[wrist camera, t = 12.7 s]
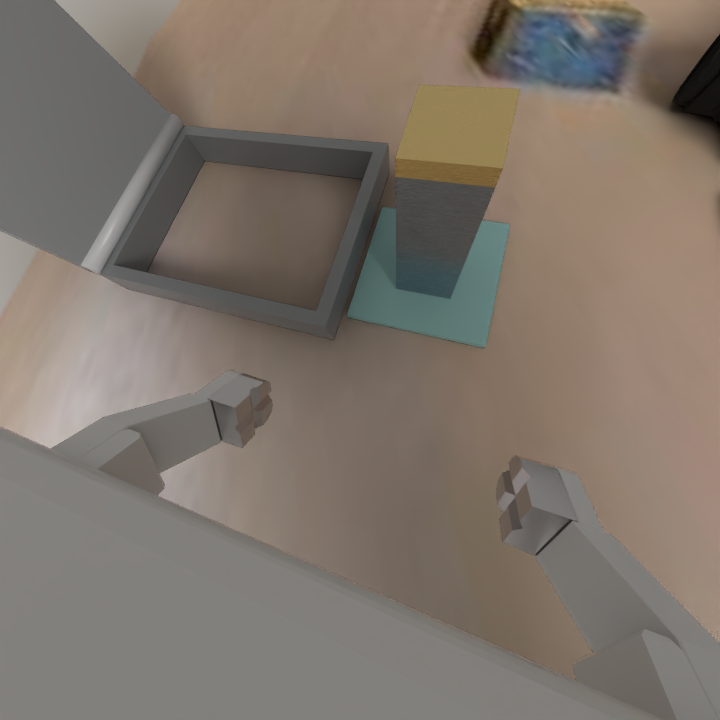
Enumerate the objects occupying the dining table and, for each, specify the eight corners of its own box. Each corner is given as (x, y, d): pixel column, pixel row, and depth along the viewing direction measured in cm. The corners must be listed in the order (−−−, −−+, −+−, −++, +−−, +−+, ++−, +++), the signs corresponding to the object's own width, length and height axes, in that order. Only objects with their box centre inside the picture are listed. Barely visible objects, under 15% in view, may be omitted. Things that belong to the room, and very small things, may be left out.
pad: (508, 227, 21) (510, 224, 20) (483, 348, 18) (485, 346, 18) (382, 210, 22) (382, 206, 22) (347, 317, 20) (346, 315, 20)
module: (461, 252, 20) (520, 88, 10) (450, 299, 19) (502, 168, 10) (409, 243, 21) (419, 84, 11) (396, 288, 20) (395, 157, 10)
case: (389, 172, 23) (373, -349, 8) (333, 339, 20) (108, 14, 4) (145, 146, 29) (-155, -194, 13) (69, 274, 25) (-457, 22, 10)
